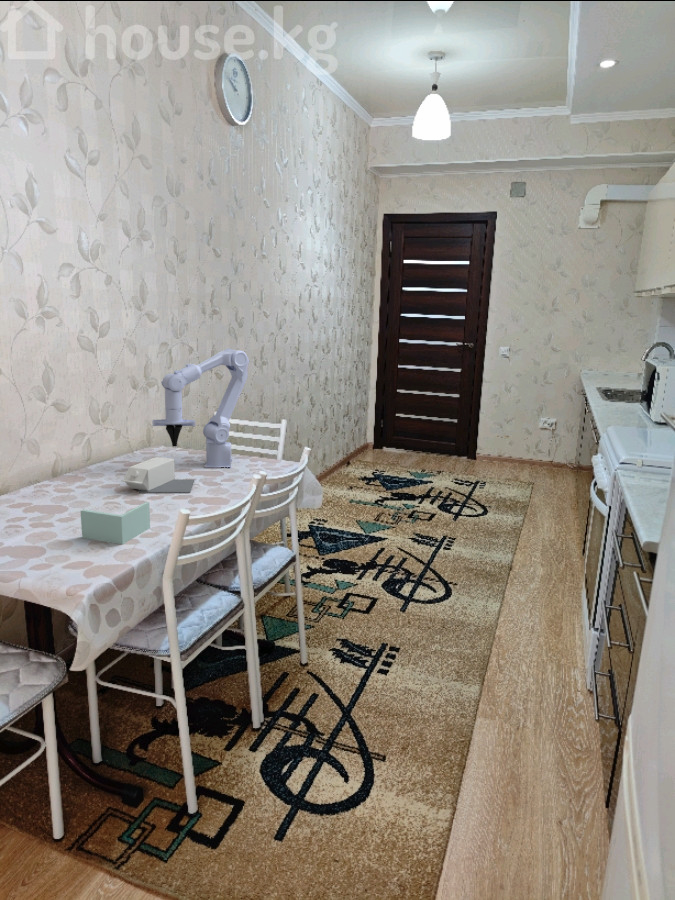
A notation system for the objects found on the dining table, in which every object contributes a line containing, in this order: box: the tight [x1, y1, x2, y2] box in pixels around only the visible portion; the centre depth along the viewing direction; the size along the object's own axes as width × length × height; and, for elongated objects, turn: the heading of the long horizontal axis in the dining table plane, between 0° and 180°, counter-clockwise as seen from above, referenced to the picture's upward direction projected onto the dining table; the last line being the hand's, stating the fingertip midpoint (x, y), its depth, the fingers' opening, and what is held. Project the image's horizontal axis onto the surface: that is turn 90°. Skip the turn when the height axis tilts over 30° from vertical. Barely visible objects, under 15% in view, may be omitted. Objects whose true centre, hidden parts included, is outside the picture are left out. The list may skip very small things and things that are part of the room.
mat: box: [137, 478, 195, 494], centre depth 195 cm, size 16×14×1 cm
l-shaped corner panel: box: [80, 501, 151, 545], centre depth 155 cm, size 12×12×8 cm
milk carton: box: [121, 456, 176, 491], centre depth 194 cm, size 7×7×19 cm
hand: (174, 445), depth 211 cm, fingers closed
